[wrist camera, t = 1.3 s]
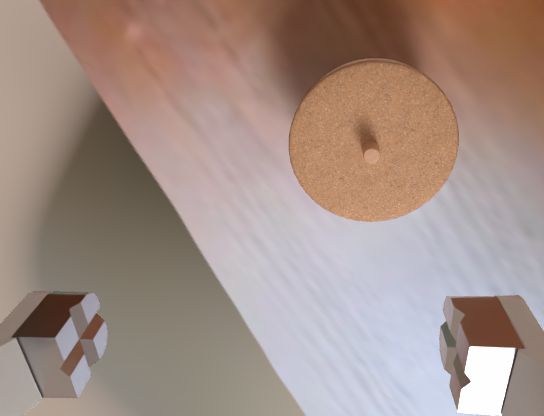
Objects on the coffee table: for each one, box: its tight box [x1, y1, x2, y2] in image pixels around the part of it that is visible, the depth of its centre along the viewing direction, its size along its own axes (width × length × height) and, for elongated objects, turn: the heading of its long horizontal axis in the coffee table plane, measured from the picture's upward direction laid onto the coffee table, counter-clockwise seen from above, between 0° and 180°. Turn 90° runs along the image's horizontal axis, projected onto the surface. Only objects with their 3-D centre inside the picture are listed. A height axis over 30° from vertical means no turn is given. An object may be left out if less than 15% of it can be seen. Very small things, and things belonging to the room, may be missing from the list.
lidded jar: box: [289, 58, 459, 222], centre depth 32 cm, size 11×11×9 cm
